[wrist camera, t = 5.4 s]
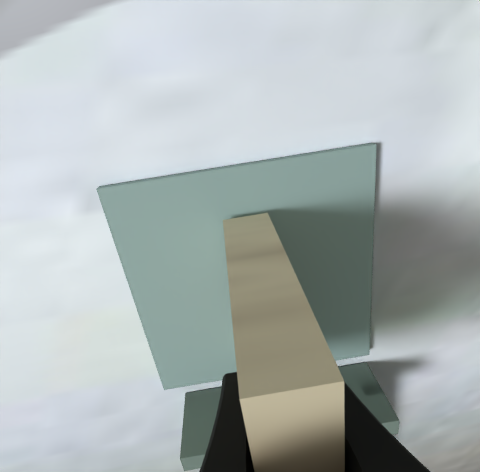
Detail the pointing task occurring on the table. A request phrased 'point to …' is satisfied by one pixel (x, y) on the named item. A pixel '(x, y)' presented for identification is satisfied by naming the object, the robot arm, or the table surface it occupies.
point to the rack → (206, 401)
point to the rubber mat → (214, 254)
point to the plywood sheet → (281, 357)
